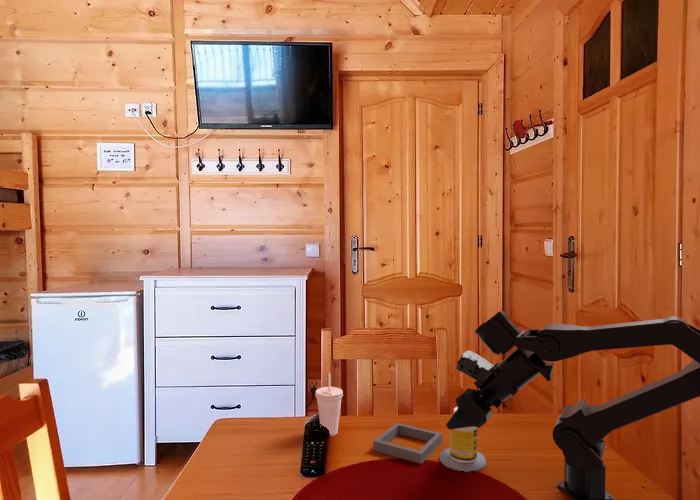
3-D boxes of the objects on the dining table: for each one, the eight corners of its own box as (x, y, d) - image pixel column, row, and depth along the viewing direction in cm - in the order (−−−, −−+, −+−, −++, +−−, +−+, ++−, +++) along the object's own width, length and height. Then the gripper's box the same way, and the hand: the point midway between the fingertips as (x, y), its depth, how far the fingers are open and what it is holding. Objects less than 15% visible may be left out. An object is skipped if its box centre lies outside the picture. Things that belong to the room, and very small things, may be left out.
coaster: (494, 469, 89) (494, 466, 89) (450, 474, 87) (450, 471, 87) (473, 448, 98) (473, 445, 98) (433, 452, 96) (433, 449, 96)
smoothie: (318, 440, 102) (318, 377, 102) (313, 428, 109) (312, 369, 108) (346, 436, 104) (346, 375, 104) (339, 425, 110) (339, 367, 110)
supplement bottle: (478, 465, 89) (478, 415, 89) (450, 463, 90) (449, 414, 90) (476, 452, 95) (476, 405, 94) (449, 450, 96) (449, 403, 95)
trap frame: (442, 442, 101) (442, 433, 101) (421, 463, 91) (421, 454, 91) (396, 431, 107) (396, 422, 107) (373, 450, 97) (373, 440, 97)
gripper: (495, 331, 98) (445, 374, 104) (466, 350, 82) (410, 400, 88) (534, 374, 94) (480, 416, 100) (512, 402, 78) (449, 450, 84)
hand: (455, 419), depth 93 cm, fingers open, 9 cm apart
